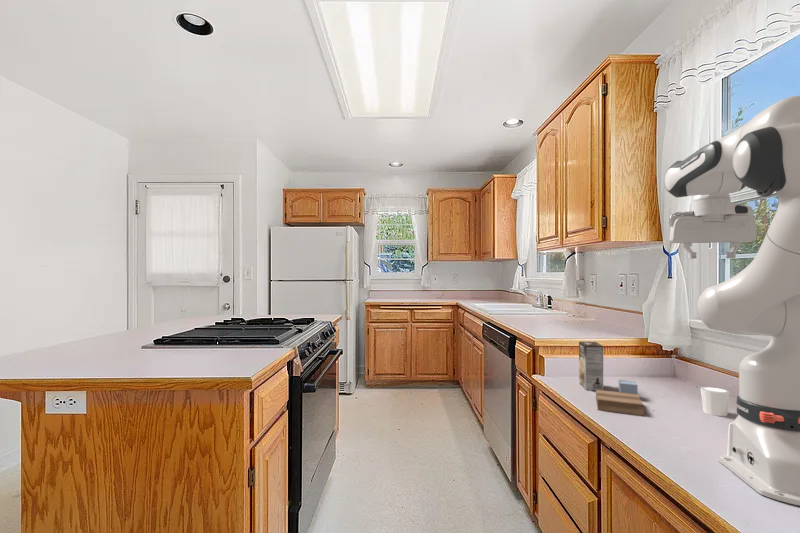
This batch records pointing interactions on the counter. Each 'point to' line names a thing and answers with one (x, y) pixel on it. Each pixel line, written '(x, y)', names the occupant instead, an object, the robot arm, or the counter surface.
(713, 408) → the white cup
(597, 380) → the coffee box
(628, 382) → the slate block
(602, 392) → the walnut plinth
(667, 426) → the counter surface
